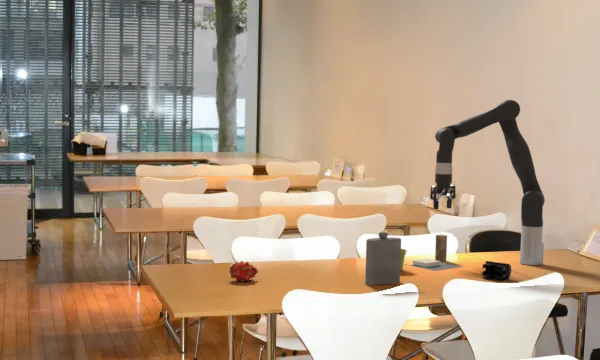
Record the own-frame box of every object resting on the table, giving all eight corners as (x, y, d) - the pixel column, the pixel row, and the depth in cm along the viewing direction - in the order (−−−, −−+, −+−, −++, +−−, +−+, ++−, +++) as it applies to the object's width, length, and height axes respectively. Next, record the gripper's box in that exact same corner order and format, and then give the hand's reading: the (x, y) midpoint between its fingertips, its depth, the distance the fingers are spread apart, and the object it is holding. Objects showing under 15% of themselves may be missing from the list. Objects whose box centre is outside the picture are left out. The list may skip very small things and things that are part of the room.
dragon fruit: (225, 285, 324) (255, 288, 328) (232, 276, 317) (262, 279, 321) (225, 265, 328) (254, 268, 332) (232, 256, 322) (261, 259, 326)
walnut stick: (446, 261, 378) (447, 235, 377) (441, 262, 375) (441, 236, 374) (440, 260, 380) (441, 234, 379) (435, 261, 378) (436, 235, 377)
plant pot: (388, 272, 349) (389, 252, 348) (380, 268, 358) (381, 248, 357) (409, 271, 351) (410, 251, 350) (401, 267, 360) (401, 247, 359)
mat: (463, 267, 364) (463, 266, 363) (435, 271, 352) (435, 270, 352) (426, 260, 381) (426, 259, 381) (398, 263, 370) (398, 262, 370)
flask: (394, 280, 332) (395, 230, 330) (402, 283, 327) (403, 232, 325) (361, 283, 326) (363, 232, 324) (369, 286, 320) (370, 234, 319)
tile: (440, 261, 364) (426, 263, 359) (440, 265, 365) (426, 267, 359) (427, 258, 371) (412, 260, 365) (426, 263, 371) (412, 265, 365)
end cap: (511, 279, 340) (511, 263, 339) (504, 282, 334) (504, 265, 333) (488, 276, 346) (488, 260, 345) (481, 278, 340) (481, 262, 339)
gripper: (439, 173, 367) (437, 210, 369) (460, 173, 376) (459, 208, 377) (426, 172, 373) (425, 208, 374) (448, 171, 382) (446, 207, 383)
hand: (442, 208), depth 376 cm, fingers open, 8 cm apart
